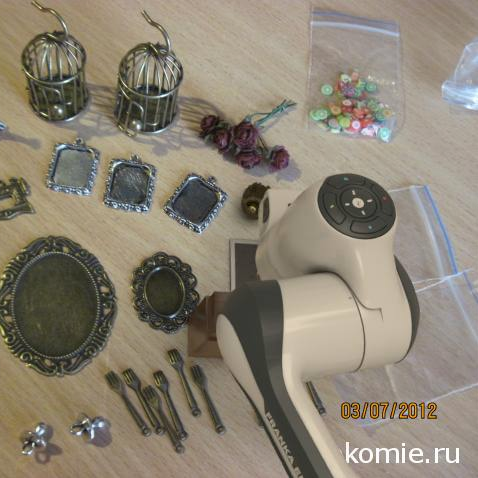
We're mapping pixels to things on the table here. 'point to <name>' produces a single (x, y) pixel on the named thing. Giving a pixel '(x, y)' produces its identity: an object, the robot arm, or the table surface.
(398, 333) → the robot arm
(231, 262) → the tablet
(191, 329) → the pen stand
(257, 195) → the cup
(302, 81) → the table surface
